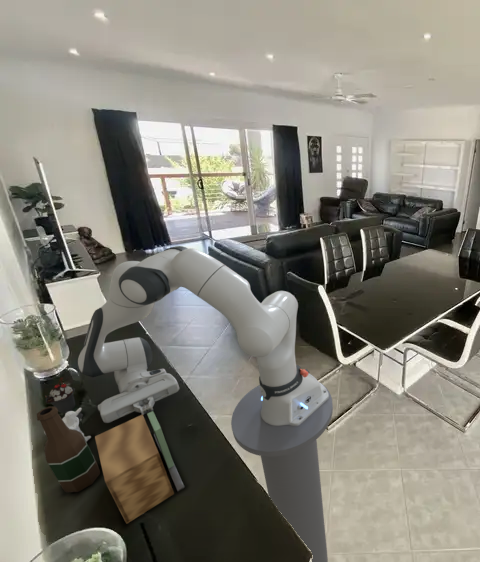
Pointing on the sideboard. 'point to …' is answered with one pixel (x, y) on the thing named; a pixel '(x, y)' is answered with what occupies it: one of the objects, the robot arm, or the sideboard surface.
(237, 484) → the sideboard surface
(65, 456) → the beer bottle
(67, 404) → the sundae
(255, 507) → the sideboard surface
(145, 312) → the robot arm
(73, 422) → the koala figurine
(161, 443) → the sliding door
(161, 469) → the cupboard
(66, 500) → the sideboard surface
